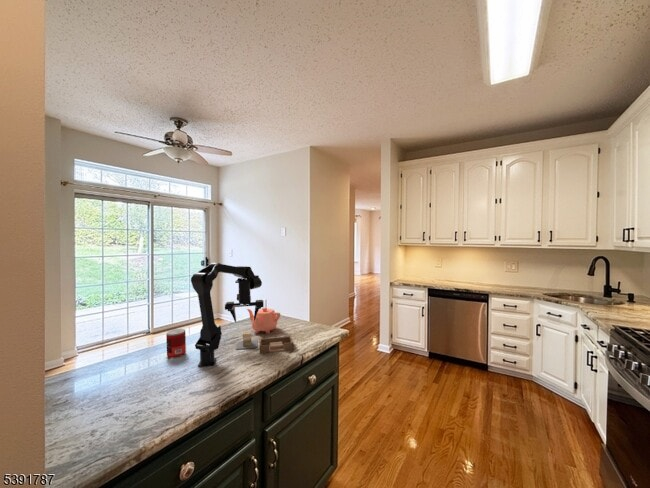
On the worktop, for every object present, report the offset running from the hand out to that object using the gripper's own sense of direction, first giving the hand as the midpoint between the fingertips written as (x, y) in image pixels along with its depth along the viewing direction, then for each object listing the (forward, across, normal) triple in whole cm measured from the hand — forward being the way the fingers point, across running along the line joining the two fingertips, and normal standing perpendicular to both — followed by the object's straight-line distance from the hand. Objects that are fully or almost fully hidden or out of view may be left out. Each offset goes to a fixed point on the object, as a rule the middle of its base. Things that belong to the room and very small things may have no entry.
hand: (245, 321), depth 139 cm
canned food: (+12, +31, +4) cm, 34 cm away
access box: (+12, -15, +8) cm, 21 cm away
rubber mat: (+12, -1, +1) cm, 12 cm away
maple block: (+12, -1, +1) cm, 12 cm away
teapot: (+12, -9, -20) cm, 25 cm away
